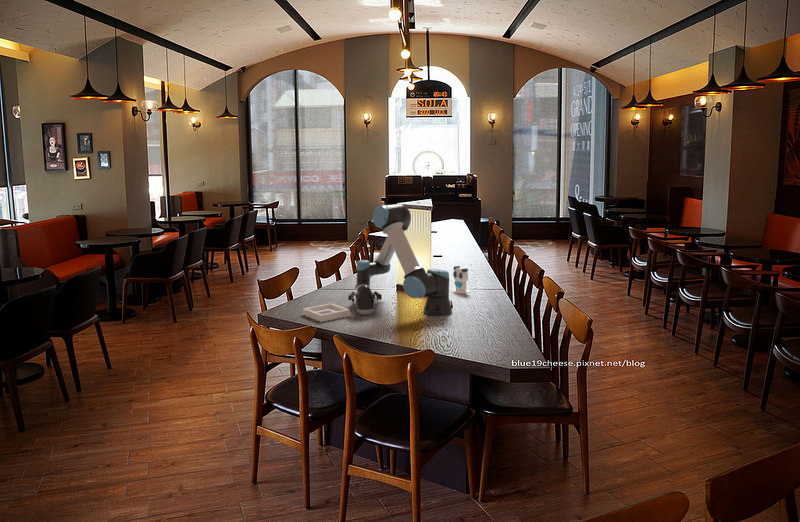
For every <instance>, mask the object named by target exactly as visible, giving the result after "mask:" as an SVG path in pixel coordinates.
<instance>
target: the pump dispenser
mask: <svg viewBox="0 0 800 522" xmlns="http://www.w3.org/2000/svg"><path fill="white" fill-rule="evenodd" d="M372 291H373V290H372V289H371V287H370V288H369V287H368V286H366V285H365V286H363V287H361V288H360V290H359V292H358V296H357V299H356V304H355V308H356V311H357V313H358V314H360V315H361V316H369V315H371V314H373V313H374V311H375V307H376V303H375V299H374V298H373V294H372V293H373V292H372Z"/></svg>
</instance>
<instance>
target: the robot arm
mask: <svg viewBox="0 0 800 522" xmlns="http://www.w3.org/2000/svg"><path fill="white" fill-rule="evenodd" d="M411 213H412V212H411V211H410V209H409V208H408V207H407V206H406V205H405V204H401V203H396V204H395V203H394V204H383V205H379V206H376V208H375V209H374V211H373V215H372V221H373V224H374V226H375V228H379V229H381V230H382V233H383V234H385V235H387V236H386V238H385V240H384V242H383V245H382V247H381V249H380V251H379V252H378V253H379V254H378V255H377V258H376V260H375V261H374V262H370V260H368V259H359V260H358V261H357V262H356V268H355V269H356V278H357V279H356V284H357V286H355V287H356V292H355V291H351V293H350V294H348V297H347V298H348V301H351V302H352V303H353V304H354V305H356V300H357V296H358V292H359V290H360V288H361V287H363V286H365V285H366V286H368V287H369V288H370V289H371V278H370V276H372V277H374V276H379V275H384V274H387V273H389V272H390V271H391V263H390V262H391V260H392V258H393V255H394V253H395V254H396V257H397V258H398V259H397V260H398V261H399V263H400V266H401V268H402V270H403V272H404V275H403V279H404V280H403V282H402V284H403V291H404V292H405V294H406V295H407V296H408V297H410V298H412V299H421V298H423V297H426V300H425V303H424V304H425V305H424V306H423V313H424V314H425V315H430V316H447V315H451V314H452V313H453V307H452V306H451V305H452V304H451V301H450V273H449V272H448V271H447V270H445V269H435V268H428V269H427V271H426V269H425V268H424V267H422V266H420V264H419V262H418V259H417V258H416V255H415V254H414V251H413V249H412V247H411V245H410V243H409V241H408V238H407V236H406V234H405V231H408V229H409V227H410V225H411V222H412V221H411V220H412V215H411ZM372 294H373V298H374V302H375V304H378V301H381V300H382V294H381V293H379V292H378V291H374V292H372Z"/></svg>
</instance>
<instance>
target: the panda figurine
mask: <svg viewBox="0 0 800 522" xmlns="http://www.w3.org/2000/svg"><path fill="white" fill-rule="evenodd" d="M453 278H454V285H455V288H454V289H451V292H452V293H453V294H468V293H470V292H471V290H470V289H468V288H467V282H468V280H469V269H468V268H466V267H461V266H460V265H456V266H455V265H454V266H453Z"/></svg>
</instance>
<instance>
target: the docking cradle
mask: <svg viewBox="0 0 800 522" xmlns="http://www.w3.org/2000/svg"><path fill="white" fill-rule="evenodd" d="M304 315H305V316H304ZM302 316H304V317H307V318H309V317H310V319H313V320H314V319H315V320H314V321H317V322H319V321H320V323H324V322H329V321H333V319H334V320H338V318H339V319H344V318H348V316H349V317H351V309H350V308H346V307H345V306H340V305H337V304H334V303H332V302H331V303H326V304H321V305H315V306H310V307H303V308H302ZM343 317H344V318H343ZM328 320H329V321H328ZM323 321H324V322H323Z"/></svg>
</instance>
